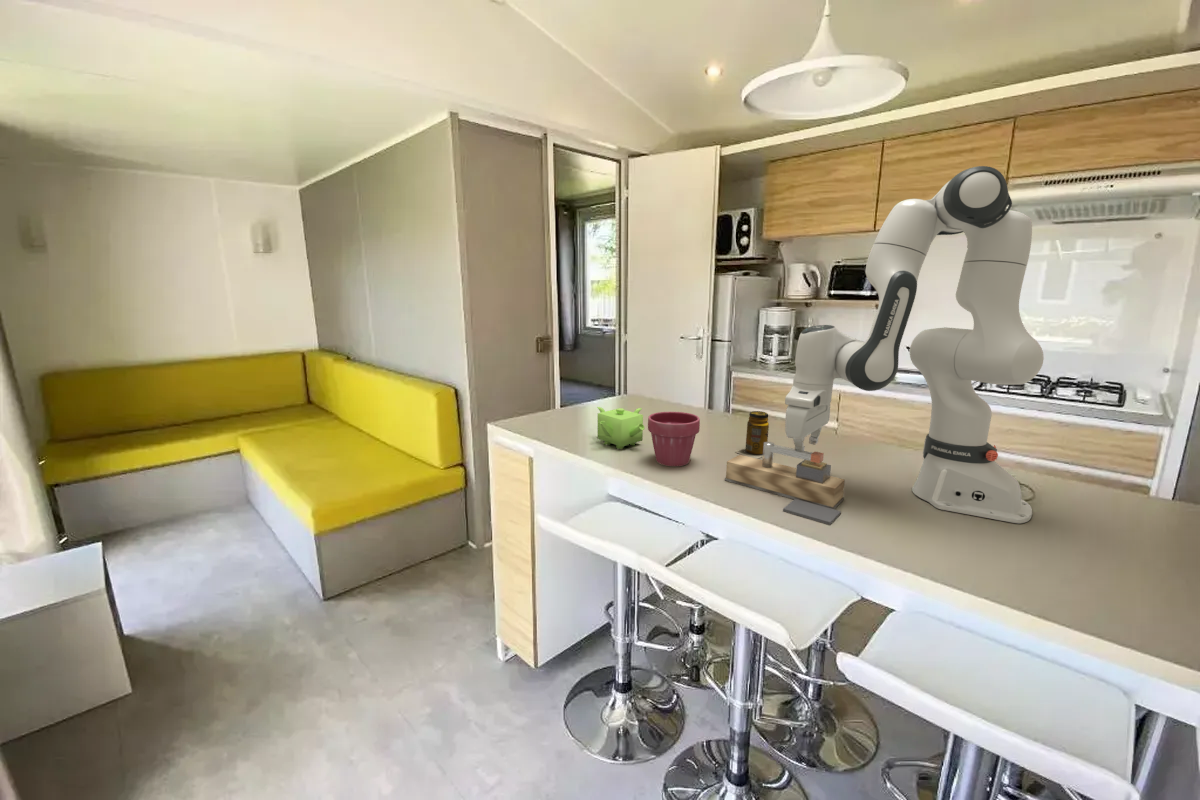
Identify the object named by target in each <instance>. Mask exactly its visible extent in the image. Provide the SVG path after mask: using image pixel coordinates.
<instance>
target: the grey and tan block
mask: <svg viewBox="0 0 1200 800" xmlns="http://www.w3.org/2000/svg"><path fill="white" fill-rule="evenodd" d="M796 468H797V470H796V477H797V478H801V479H805V480H809V481H813V482H817V483H821V484H823V483H824V482H825V481H826V480H827V479H829V478H830V476H831V469H832V465H831V464H828V463H827V462H823V461H822V462H821V463H815V462H811V461H809V460H804V459H802V461H801V462H799V463H798V464H796Z"/></svg>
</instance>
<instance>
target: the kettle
mask: <svg viewBox="0 0 1200 800" xmlns="http://www.w3.org/2000/svg"><path fill="white" fill-rule="evenodd" d="M642 409H643V408H642V407H639V408H636V409H635V410H634V411H630V410H626V409H625V408H622V407H621V408H620V407H619V408H615V409H611V410H605V409H604V408H603V407H600V406H597V410H599V412H598V413H597V440H600V441H602V442H603V441H604V442H603V445H605V446H610V445H611V444H612V445H615V449H616V448H617V450H623V449H624V447H625V446H636V445H637V443H638V442H639V443H640V442H642V441H643V437H644V436H643V435H644V434H643V432H644V430H645V425H644V424H643V422H644V415H643V414H640V412H641V411H642ZM629 444H630V445H629ZM635 444H636V445H635ZM622 448H623V449H622Z"/></svg>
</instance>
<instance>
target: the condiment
mask: <svg viewBox="0 0 1200 800" xmlns="http://www.w3.org/2000/svg"><path fill="white" fill-rule="evenodd" d="M748 415H749V416H748V421H747V425H746V435H745V436H746V438H745V448H742V449H739V450H737V451H735V453H737V454H739V455H743V456H747V457H752V458H756V459H760V458H763V447H764V442H769V441H768V440H769V439H768V437H769V430H770V429H769V428H770V427H769V426H770V424H769V413H767V412H765V411H761V410H760V411H759V410H753V411H750V412H749V413H748Z"/></svg>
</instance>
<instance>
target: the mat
mask: <svg viewBox="0 0 1200 800" xmlns="http://www.w3.org/2000/svg"><path fill="white" fill-rule="evenodd" d="M782 512H784V513H788V514H791V515H794V516H798V517H802V518H805V519H809V520H811V521H816V522H818V523H821V522H822V523H823V524H825V525H829V526H831V525H832V524H833V523H834V522H835V521H836V519H838V518H839V516H840V515H841V513H842V511H841V510H838V509H836V508H835V509H831V508H827V507H824V506H820V505H816V504H813V503H809V502H805V501H802V500H798V499H792V500H791V501H790V502H789V503H788V504H787V505H785V506H784V507H783V508H782ZM832 522H833V523H832Z"/></svg>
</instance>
